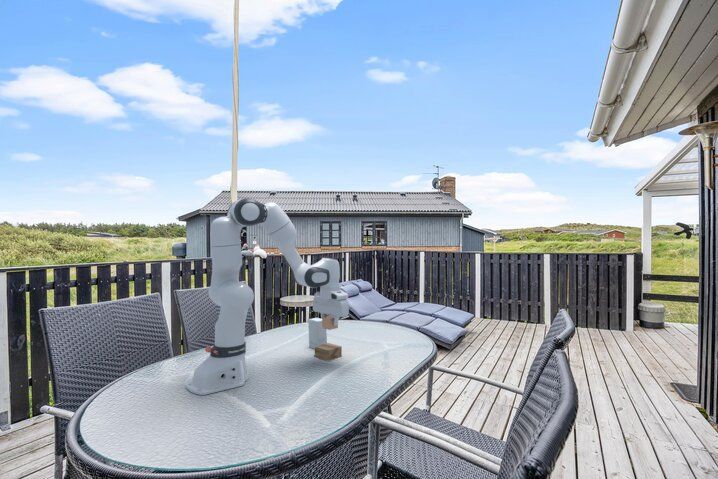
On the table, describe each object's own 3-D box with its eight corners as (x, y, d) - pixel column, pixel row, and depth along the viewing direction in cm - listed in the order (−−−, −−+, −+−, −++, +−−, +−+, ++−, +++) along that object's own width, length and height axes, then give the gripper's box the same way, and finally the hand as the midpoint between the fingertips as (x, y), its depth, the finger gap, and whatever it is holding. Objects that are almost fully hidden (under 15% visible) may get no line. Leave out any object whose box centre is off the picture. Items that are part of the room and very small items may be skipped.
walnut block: (328, 361, 164) (328, 350, 164) (314, 357, 170) (314, 346, 170) (341, 356, 171) (341, 346, 171) (328, 353, 177) (328, 342, 177)
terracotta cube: (329, 329, 159) (329, 318, 159) (322, 328, 162) (322, 316, 162) (337, 327, 162) (337, 316, 162) (330, 326, 166) (330, 315, 166)
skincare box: (327, 348, 184) (327, 319, 184) (317, 351, 179) (318, 321, 179) (317, 345, 190) (317, 316, 190) (307, 347, 185) (308, 318, 186)
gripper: (309, 291, 167) (309, 321, 167) (341, 296, 153) (340, 329, 153) (319, 290, 171) (319, 319, 171) (351, 295, 158) (351, 326, 158)
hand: (329, 324), depth 162 cm, fingers closed on terracotta cube, 5 cm apart
